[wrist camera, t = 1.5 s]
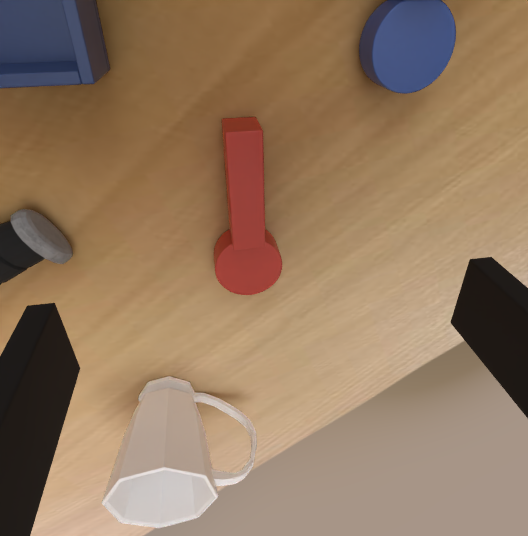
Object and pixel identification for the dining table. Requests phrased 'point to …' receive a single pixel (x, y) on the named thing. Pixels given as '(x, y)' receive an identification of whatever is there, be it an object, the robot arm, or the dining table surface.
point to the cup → (169, 458)
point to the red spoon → (245, 214)
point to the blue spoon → (407, 44)
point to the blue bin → (51, 43)
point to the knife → (29, 243)
